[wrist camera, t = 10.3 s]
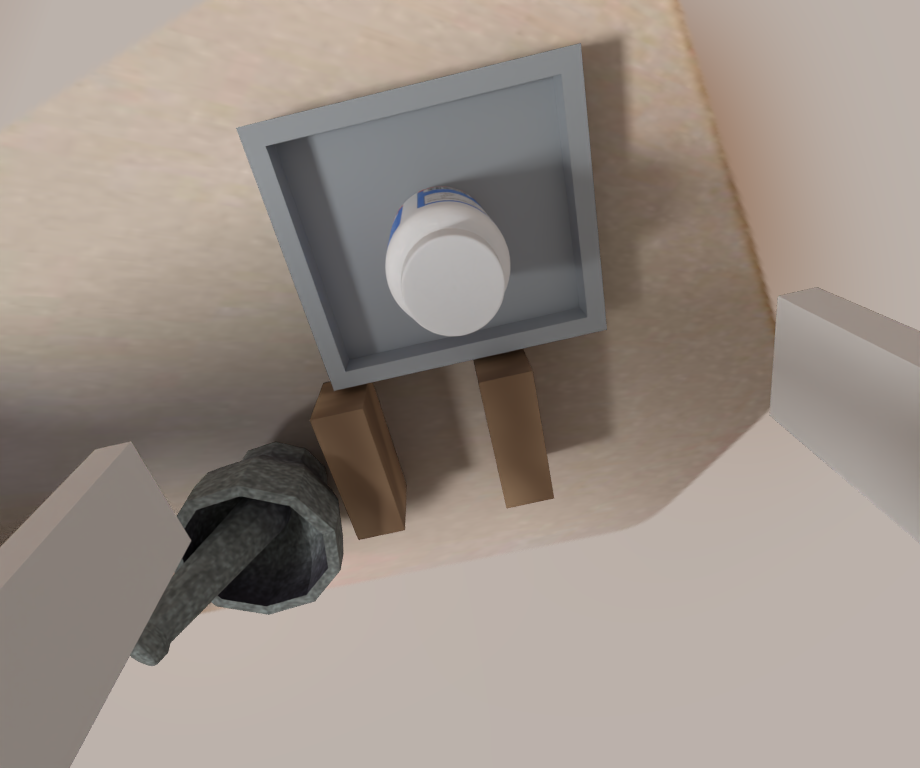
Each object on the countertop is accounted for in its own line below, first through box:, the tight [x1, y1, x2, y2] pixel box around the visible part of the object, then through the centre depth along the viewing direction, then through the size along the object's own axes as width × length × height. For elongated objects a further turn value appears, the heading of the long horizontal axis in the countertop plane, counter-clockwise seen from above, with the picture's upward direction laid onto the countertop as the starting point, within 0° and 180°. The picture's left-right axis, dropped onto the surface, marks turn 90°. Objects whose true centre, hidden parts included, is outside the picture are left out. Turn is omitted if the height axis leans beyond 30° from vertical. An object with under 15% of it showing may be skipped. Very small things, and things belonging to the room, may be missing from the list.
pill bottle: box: [385, 186, 510, 336], centre depth 24 cm, size 6×5×10 cm
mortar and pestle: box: [130, 442, 343, 666], centre depth 31 cm, size 11×9×12 cm
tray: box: [236, 43, 607, 391], centre depth 28 cm, size 16×14×2 cm
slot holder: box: [310, 349, 554, 540], centre depth 33 cm, size 12×9×4 cm
